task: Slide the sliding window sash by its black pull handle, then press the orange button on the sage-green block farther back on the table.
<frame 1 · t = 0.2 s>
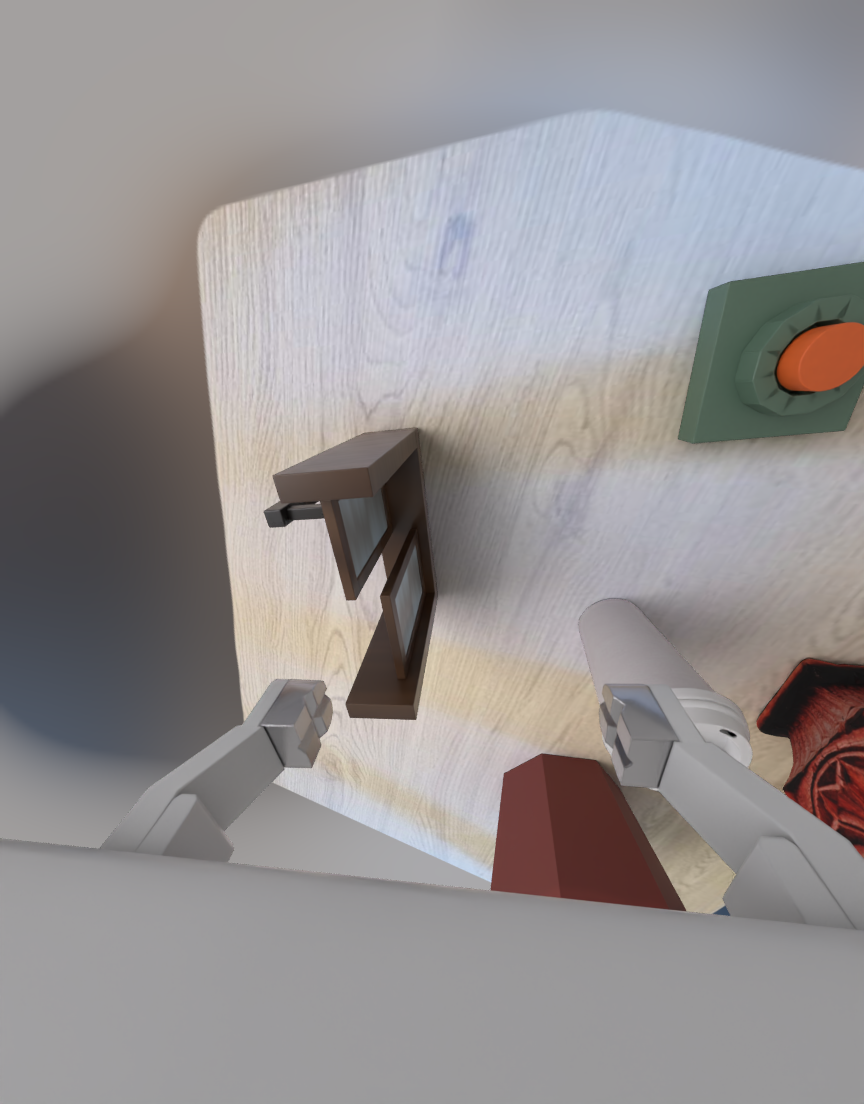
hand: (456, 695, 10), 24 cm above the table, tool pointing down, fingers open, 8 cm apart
vase: (823, 696, 38), on the table
button: (821, 358, 21), point 4 cm above the table, slide at 0.1 cm
sliding window sash: (336, 519, 26), point 8 cm above the table, slide at 0.0 cm
coffee cup: (609, 621, 37), on the table
button block: (766, 362, 25), on the table
bucket: (555, 784, 51), on the table
window frame: (404, 523, 34), on the table
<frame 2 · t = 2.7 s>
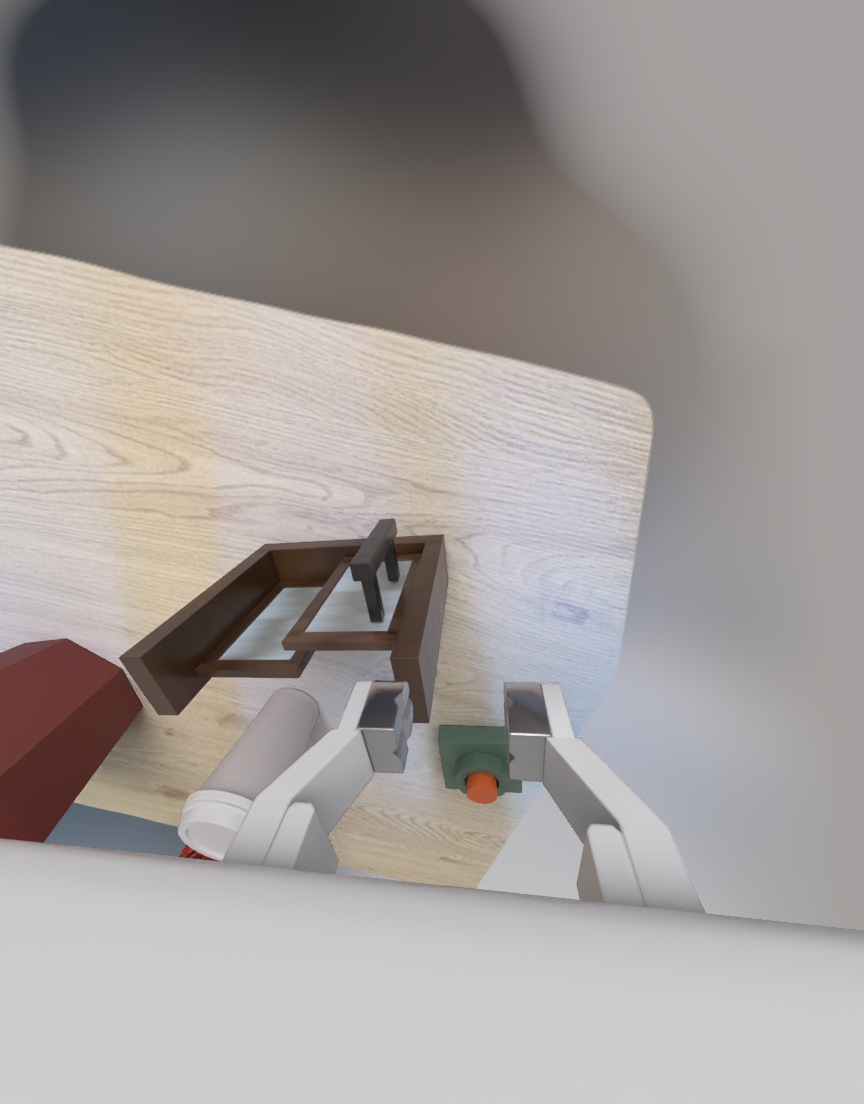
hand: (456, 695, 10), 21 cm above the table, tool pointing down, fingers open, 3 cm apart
button: (481, 787, 40), point 4 cm above the table, slide at 0.1 cm
sliding window sash: (360, 567, 24), point 8 cm above the table, slide at 0.0 cm
coffee cup: (296, 704, 45), on the table
button block: (481, 751, 44), on the table
bucket: (85, 679, 47), on the table
window frame: (355, 562, 33), on the table
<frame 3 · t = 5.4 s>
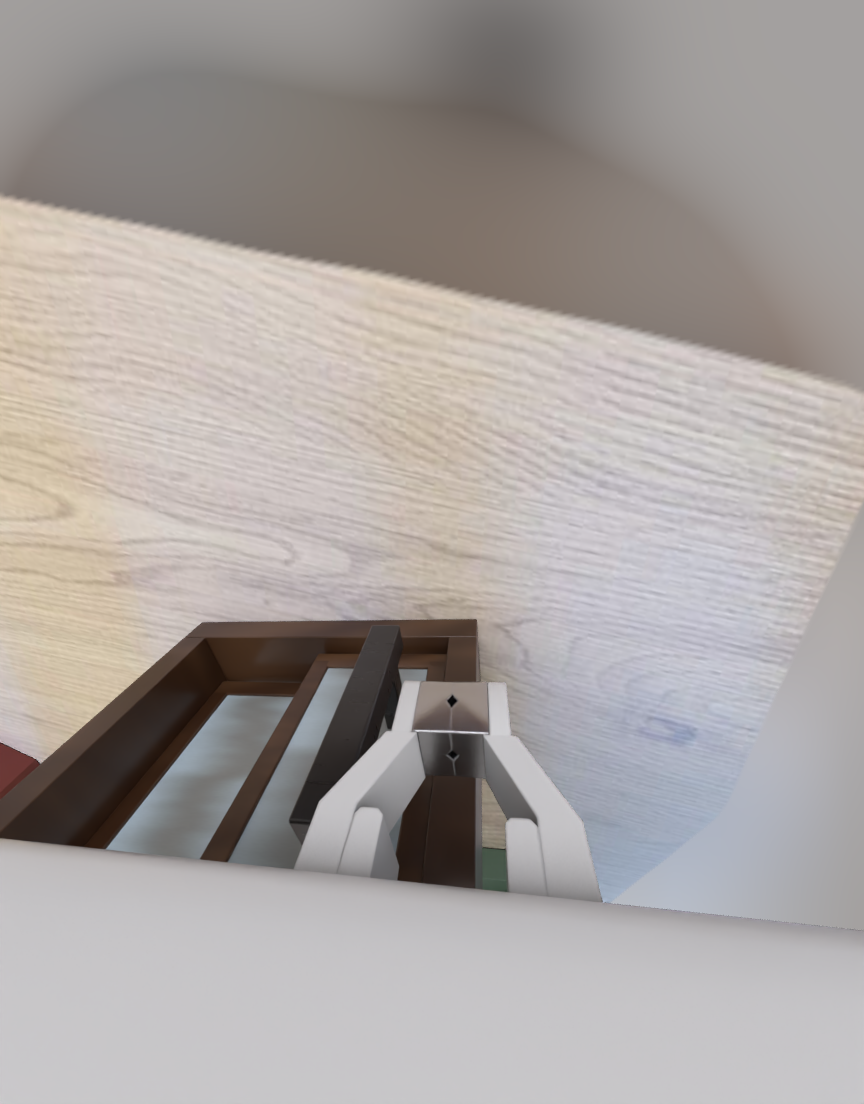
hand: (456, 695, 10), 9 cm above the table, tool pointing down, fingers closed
sliding window sash: (334, 720, 13), point 8 cm above the table, slide at 0.0 cm, touching gripper
button block: (513, 875, 33), on the table
window frame: (339, 651, 22), on the table
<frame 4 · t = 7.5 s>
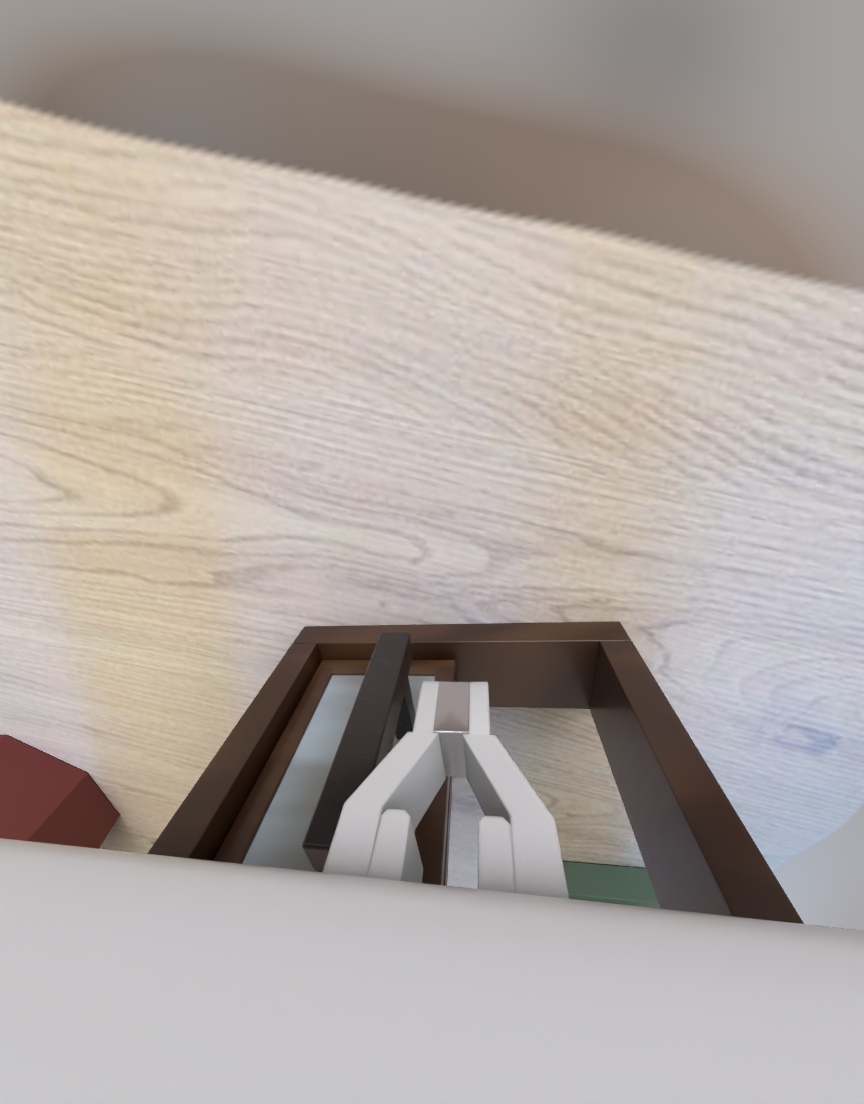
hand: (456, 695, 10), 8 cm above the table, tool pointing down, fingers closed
sliding window sash: (342, 731, 13), point 7 cm above the table, slide at 7.1 cm, touching gripper
button block: (596, 889, 31), on the table
bucket: (39, 781, 34), on the table
window frame: (454, 656, 20), on the table
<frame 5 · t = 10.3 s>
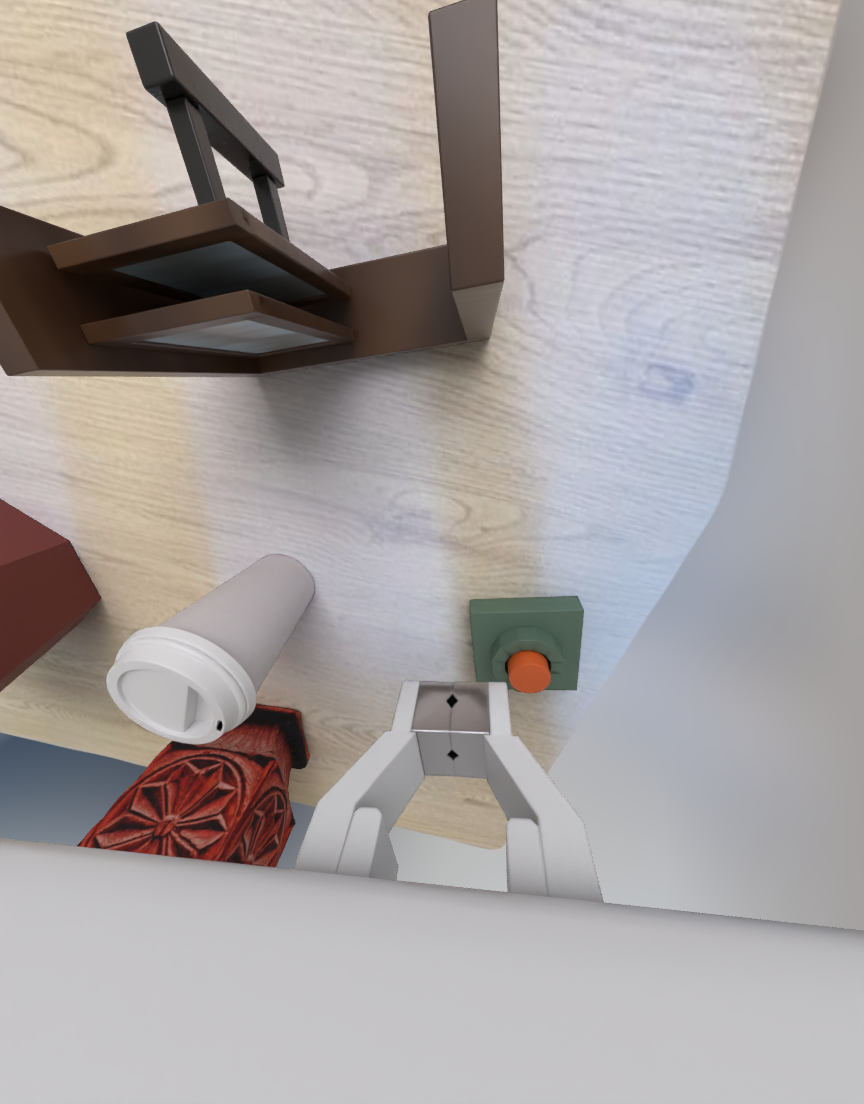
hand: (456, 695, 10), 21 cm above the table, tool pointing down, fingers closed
vase: (269, 727, 48), on the table
button: (528, 671, 30), point 4 cm above the table, slide at 0.1 cm
sliding window sash: (220, 216, 16), point 8 cm above the table, slide at 7.0 cm
coffee cup: (285, 580, 35), on the table
button block: (522, 637, 34), on the table
bucket: (29, 562, 39), on the table
window frame: (357, 318, 23), on the table
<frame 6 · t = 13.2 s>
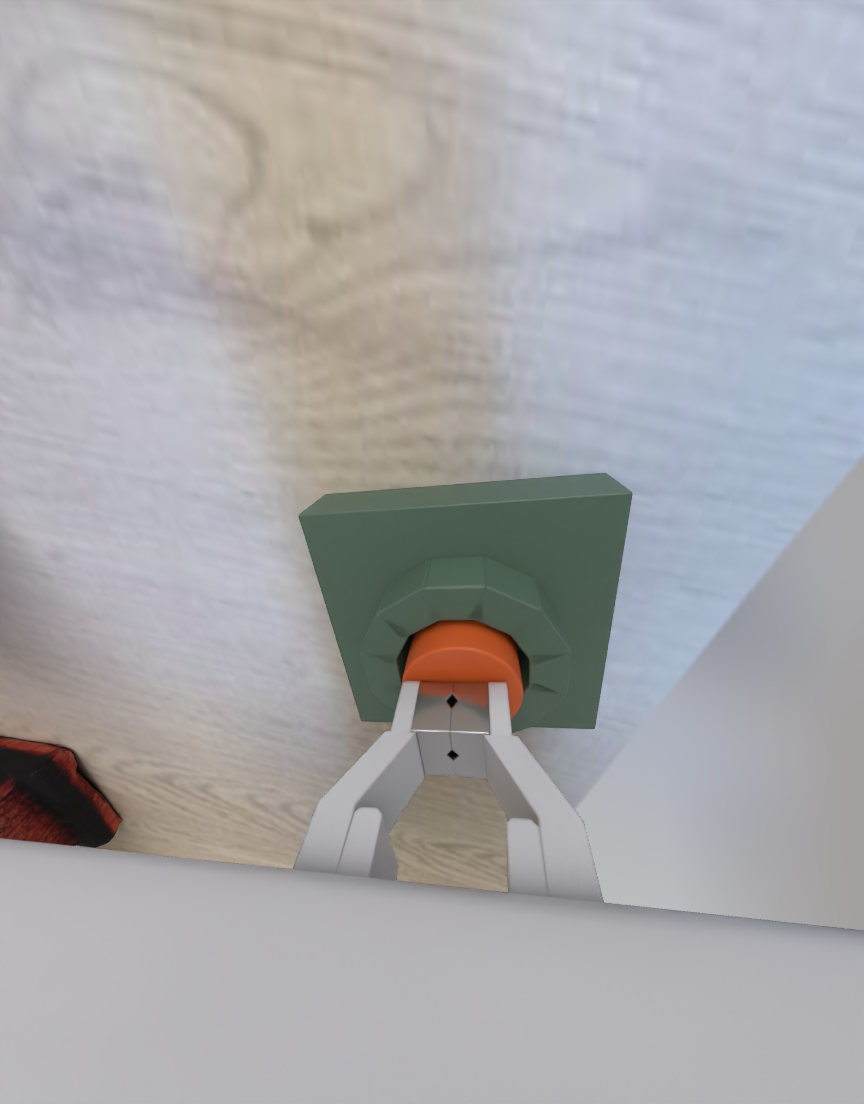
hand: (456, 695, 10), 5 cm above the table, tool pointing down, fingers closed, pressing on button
vase: (40, 773, 27), on the table
button: (462, 671, 11), point 4 cm above the table, slide at -0.5 cm, touching gripper
button block: (465, 599, 14), on the table
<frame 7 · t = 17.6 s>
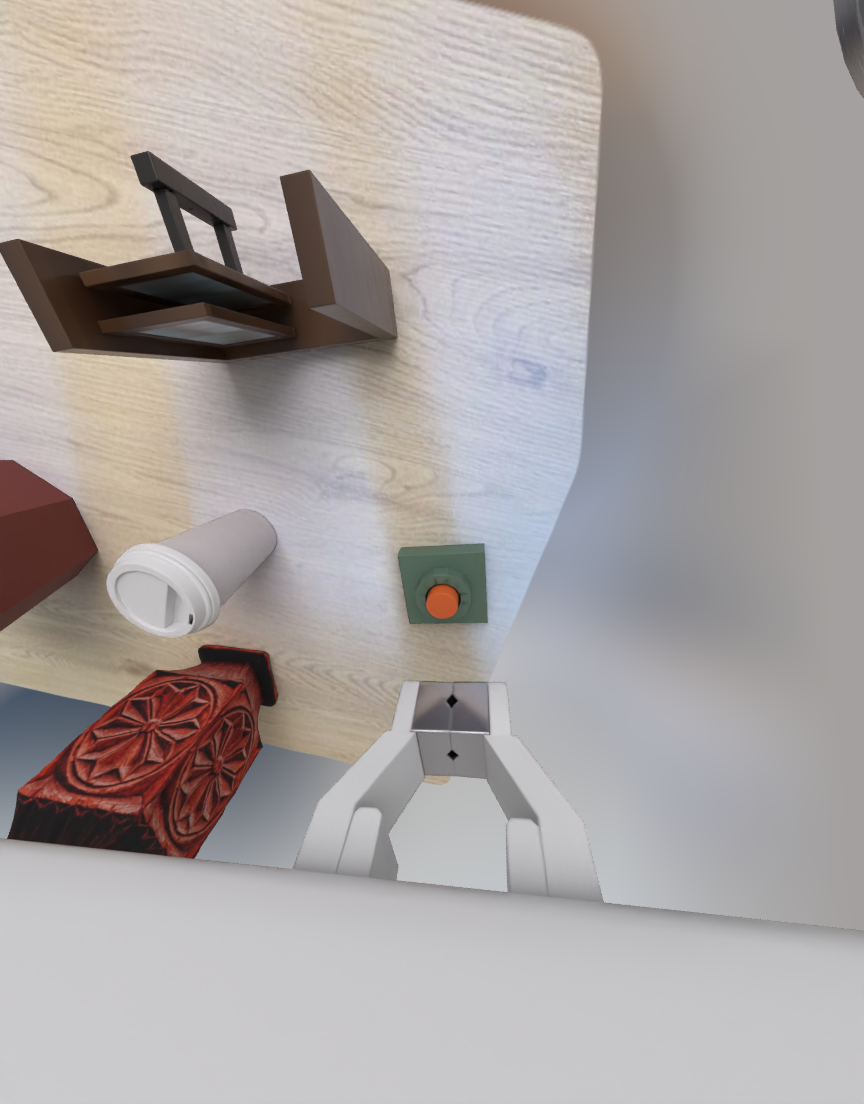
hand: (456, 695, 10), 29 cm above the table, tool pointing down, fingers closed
vase: (243, 670, 55), on the table
button: (442, 601, 38), point 4 cm above the table, slide at 0.1 cm
sliding window sash: (191, 250, 24), point 7 cm above the table, slide at 7.0 cm
coffee cup: (253, 532, 43), on the table
button block: (445, 580, 42), on the table
bucket: (37, 518, 46), on the table
window frame: (300, 320, 31), on the table
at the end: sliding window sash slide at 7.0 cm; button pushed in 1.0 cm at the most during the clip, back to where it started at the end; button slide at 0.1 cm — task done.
